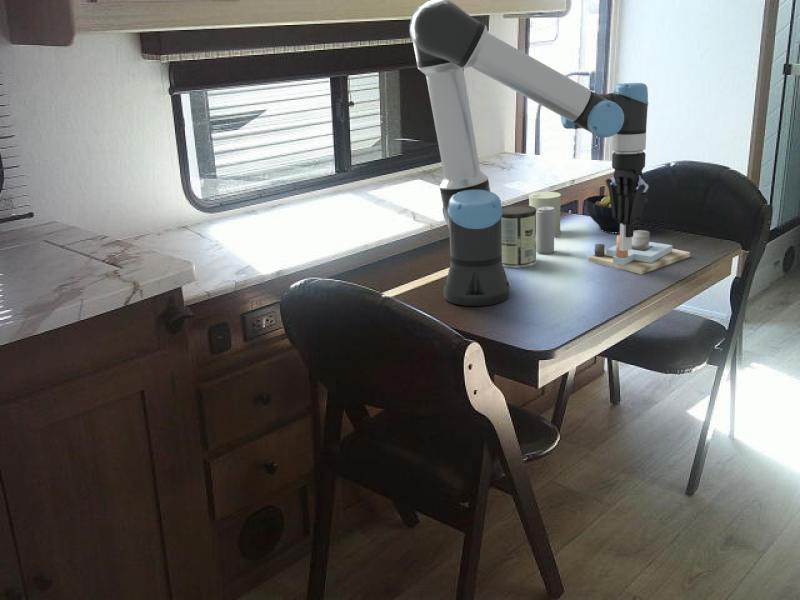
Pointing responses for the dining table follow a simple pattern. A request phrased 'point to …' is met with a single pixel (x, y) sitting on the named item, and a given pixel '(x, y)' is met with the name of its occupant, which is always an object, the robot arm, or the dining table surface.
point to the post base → (638, 243)
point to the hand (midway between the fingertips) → (625, 249)
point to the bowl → (604, 212)
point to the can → (548, 200)
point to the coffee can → (518, 236)
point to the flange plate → (638, 253)
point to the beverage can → (545, 229)
